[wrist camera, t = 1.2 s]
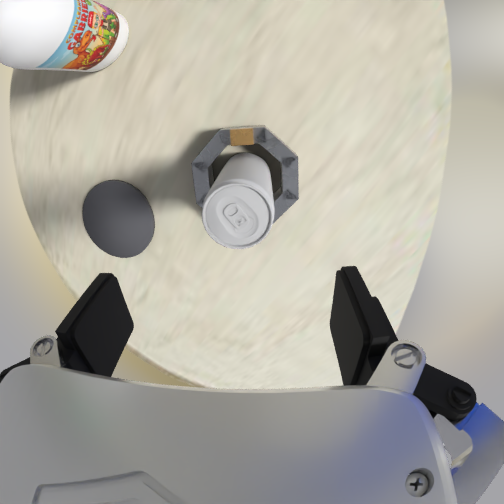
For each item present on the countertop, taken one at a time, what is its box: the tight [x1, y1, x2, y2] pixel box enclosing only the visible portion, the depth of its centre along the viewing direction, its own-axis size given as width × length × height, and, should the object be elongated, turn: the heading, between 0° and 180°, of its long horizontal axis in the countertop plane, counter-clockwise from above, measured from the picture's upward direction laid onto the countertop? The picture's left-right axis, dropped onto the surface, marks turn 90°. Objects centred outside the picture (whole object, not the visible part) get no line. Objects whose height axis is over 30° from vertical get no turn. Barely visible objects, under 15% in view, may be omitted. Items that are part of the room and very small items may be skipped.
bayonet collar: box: [191, 126, 299, 223], centre depth 27 cm, size 10×10×3 cm
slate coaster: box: [83, 180, 155, 258], centre depth 31 cm, size 10×10×1 cm
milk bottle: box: [0, 0, 129, 72], centre depth 12 cm, size 8×8×20 cm
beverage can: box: [202, 153, 275, 249], centre depth 23 cm, size 5×5×12 cm
